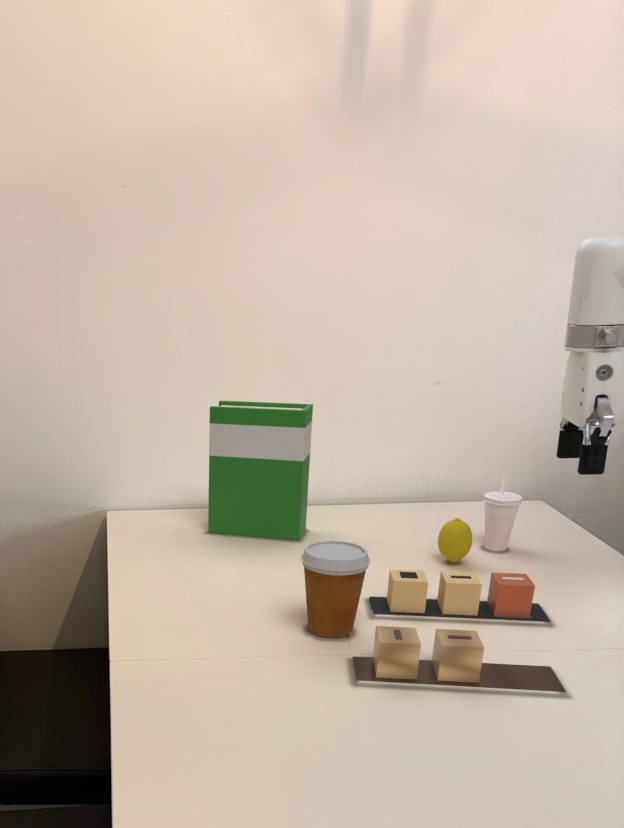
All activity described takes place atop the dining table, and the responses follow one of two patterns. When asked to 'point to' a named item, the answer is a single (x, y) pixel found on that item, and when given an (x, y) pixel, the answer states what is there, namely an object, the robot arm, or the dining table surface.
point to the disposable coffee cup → (333, 585)
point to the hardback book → (259, 468)
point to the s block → (510, 594)
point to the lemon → (455, 540)
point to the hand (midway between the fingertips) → (579, 465)
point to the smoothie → (500, 516)
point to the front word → (446, 663)
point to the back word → (440, 597)
